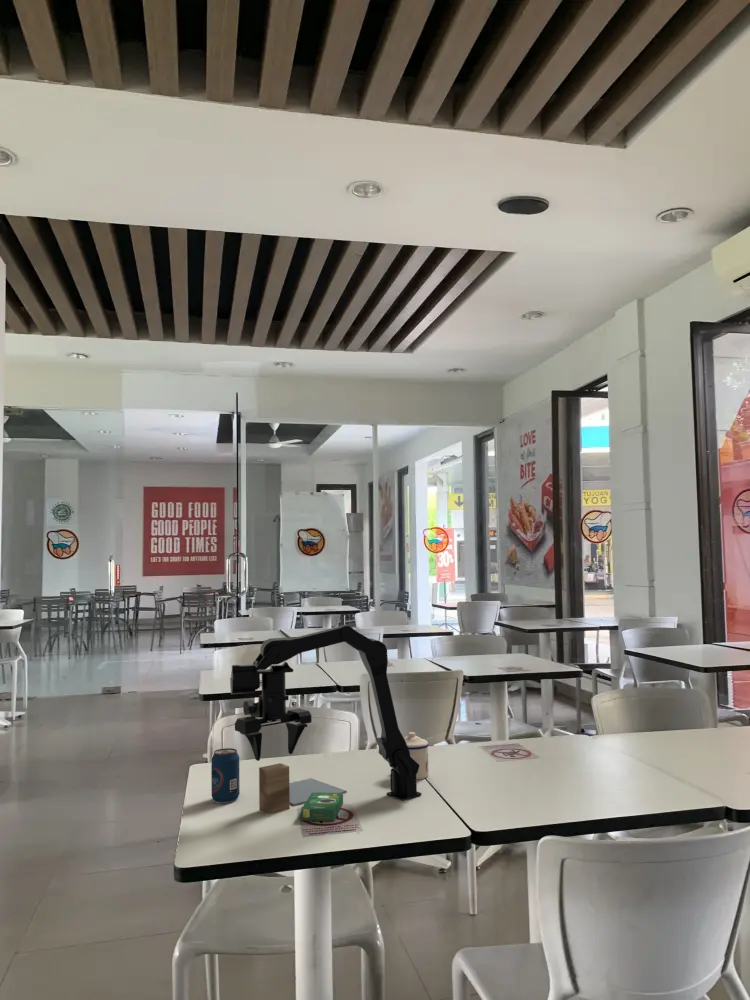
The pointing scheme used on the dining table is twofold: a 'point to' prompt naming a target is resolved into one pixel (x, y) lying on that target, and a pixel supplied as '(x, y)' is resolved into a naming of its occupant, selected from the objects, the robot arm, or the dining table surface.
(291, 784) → the slate mat
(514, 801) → the dining table surface
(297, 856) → the dining table surface
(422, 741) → the teacup with lid
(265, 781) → the brown wooden block
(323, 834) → the dining table surface
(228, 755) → the soda can
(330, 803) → the coffee box
